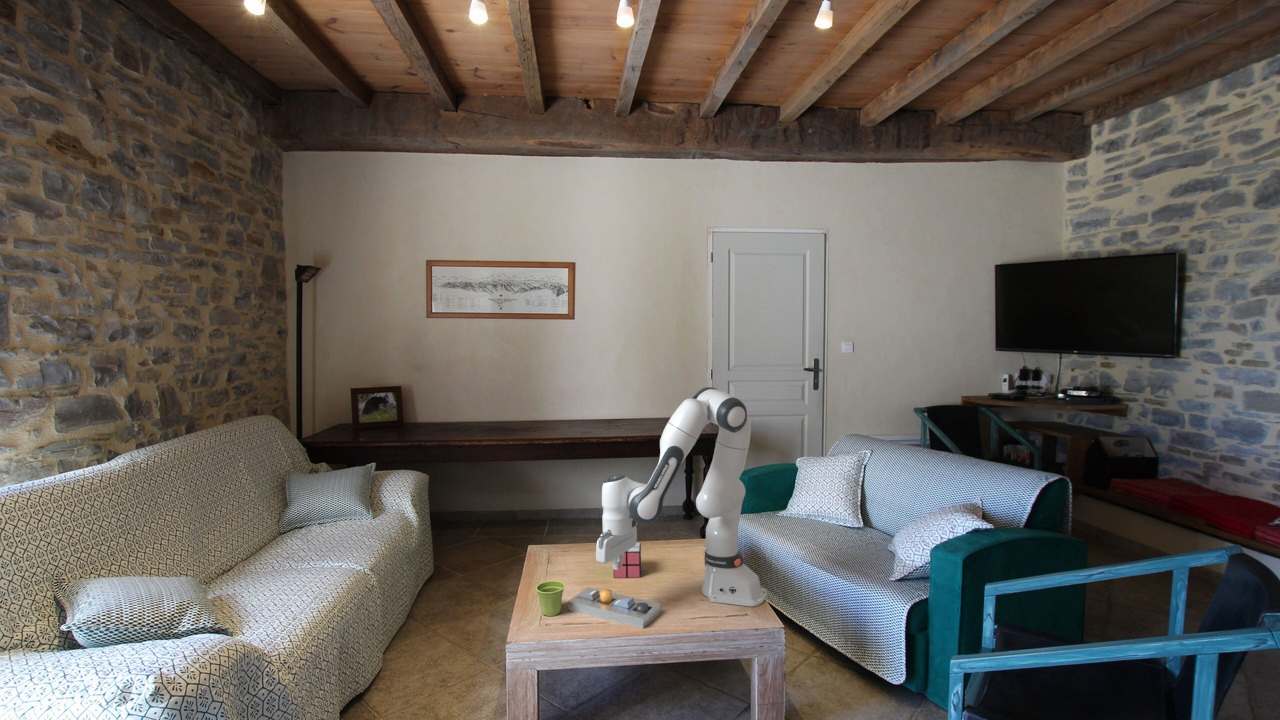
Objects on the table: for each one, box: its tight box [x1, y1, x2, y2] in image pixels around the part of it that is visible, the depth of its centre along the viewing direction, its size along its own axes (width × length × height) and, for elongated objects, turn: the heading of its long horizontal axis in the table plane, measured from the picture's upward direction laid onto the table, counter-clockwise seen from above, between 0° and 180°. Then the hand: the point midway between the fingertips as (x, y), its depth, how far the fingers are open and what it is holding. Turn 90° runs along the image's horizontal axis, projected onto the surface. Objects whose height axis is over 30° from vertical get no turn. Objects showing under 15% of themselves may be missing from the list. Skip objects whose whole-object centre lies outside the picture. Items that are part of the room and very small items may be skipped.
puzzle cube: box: [612, 542, 642, 579], centre depth 234 cm, size 10×10×10 cm
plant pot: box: [535, 580, 566, 617], centre depth 202 cm, size 9×9×9 cm
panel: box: [567, 587, 662, 629], centre depth 202 cm, size 28×12×3 cm, turn 61°
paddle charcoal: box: [578, 589, 599, 601], centre depth 207 cm, size 6×4×2 cm
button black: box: [636, 603, 648, 614], centre depth 197 cm, size 4×4×4 cm
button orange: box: [600, 588, 613, 605], centre depth 204 cm, size 4×4×4 cm
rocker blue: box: [613, 597, 635, 609], centre depth 200 cm, size 6×4×2 cm
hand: (617, 568), depth 201 cm, fingers closed
